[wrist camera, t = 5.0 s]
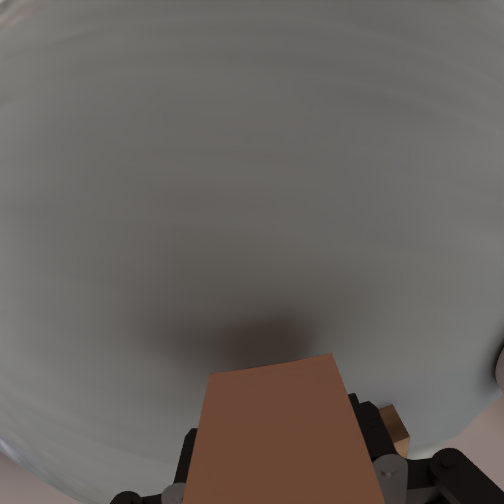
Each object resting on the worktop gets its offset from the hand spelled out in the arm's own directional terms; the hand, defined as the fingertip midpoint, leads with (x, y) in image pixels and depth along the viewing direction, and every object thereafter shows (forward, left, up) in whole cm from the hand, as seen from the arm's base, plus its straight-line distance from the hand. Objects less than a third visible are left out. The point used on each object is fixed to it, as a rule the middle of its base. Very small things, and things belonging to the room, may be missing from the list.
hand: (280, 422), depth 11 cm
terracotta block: (0, 0, -1) cm, 1 cm away
